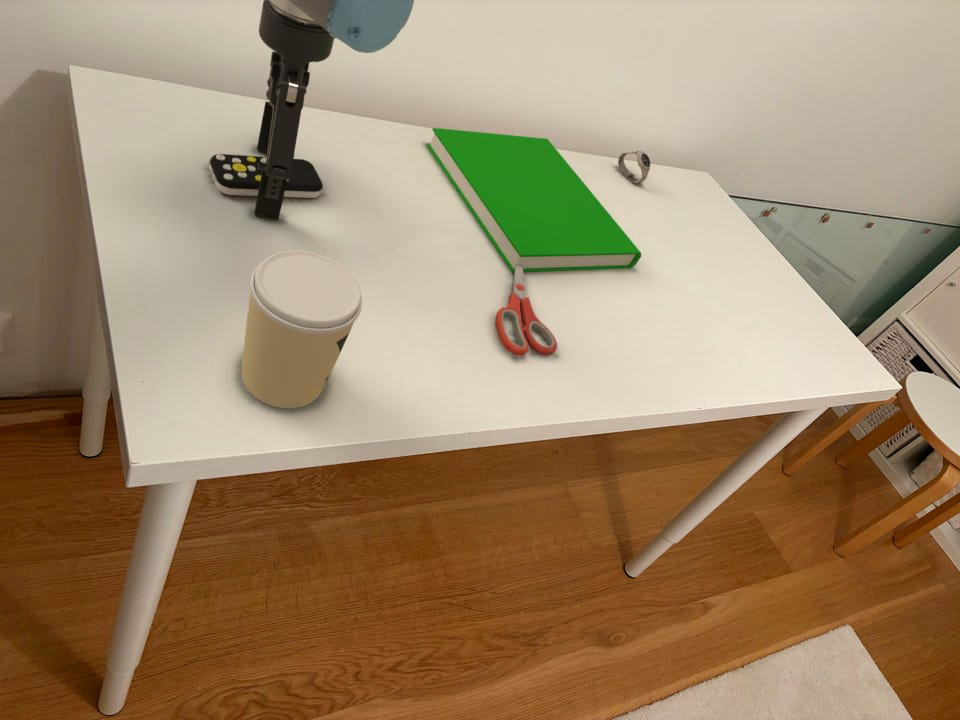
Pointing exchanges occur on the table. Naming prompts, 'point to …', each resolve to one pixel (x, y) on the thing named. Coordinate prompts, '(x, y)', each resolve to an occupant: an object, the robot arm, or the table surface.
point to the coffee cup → (296, 326)
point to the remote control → (245, 176)
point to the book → (531, 203)
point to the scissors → (528, 318)
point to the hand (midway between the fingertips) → (267, 181)
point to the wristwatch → (642, 162)
